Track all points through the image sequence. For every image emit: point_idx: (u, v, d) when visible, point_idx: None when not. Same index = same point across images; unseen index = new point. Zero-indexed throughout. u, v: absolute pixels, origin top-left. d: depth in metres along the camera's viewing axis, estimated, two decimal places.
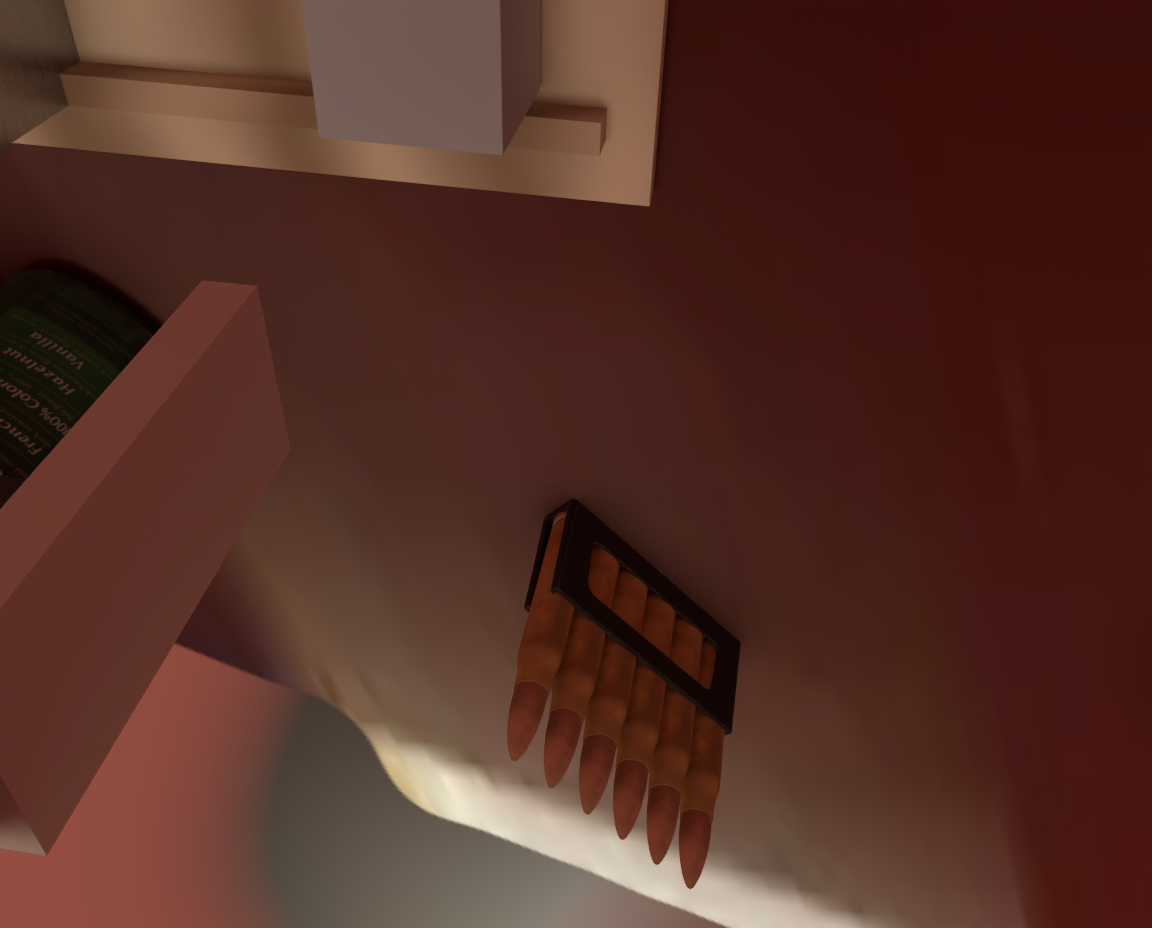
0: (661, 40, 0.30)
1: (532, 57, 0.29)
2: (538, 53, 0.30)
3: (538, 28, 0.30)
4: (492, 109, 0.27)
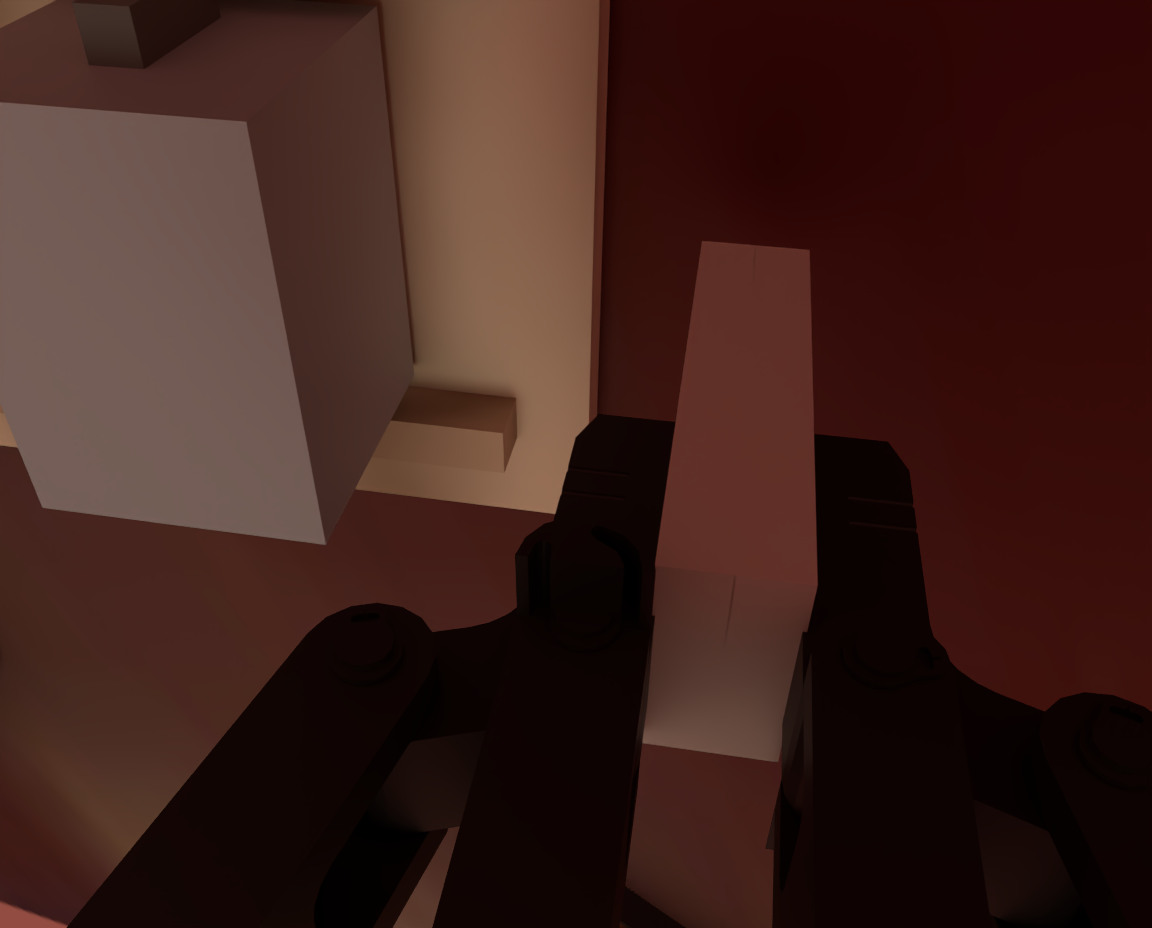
0: (590, 314, 0.20)
1: (391, 350, 0.19)
2: (405, 333, 0.20)
3: (402, 301, 0.20)
4: (300, 487, 0.16)
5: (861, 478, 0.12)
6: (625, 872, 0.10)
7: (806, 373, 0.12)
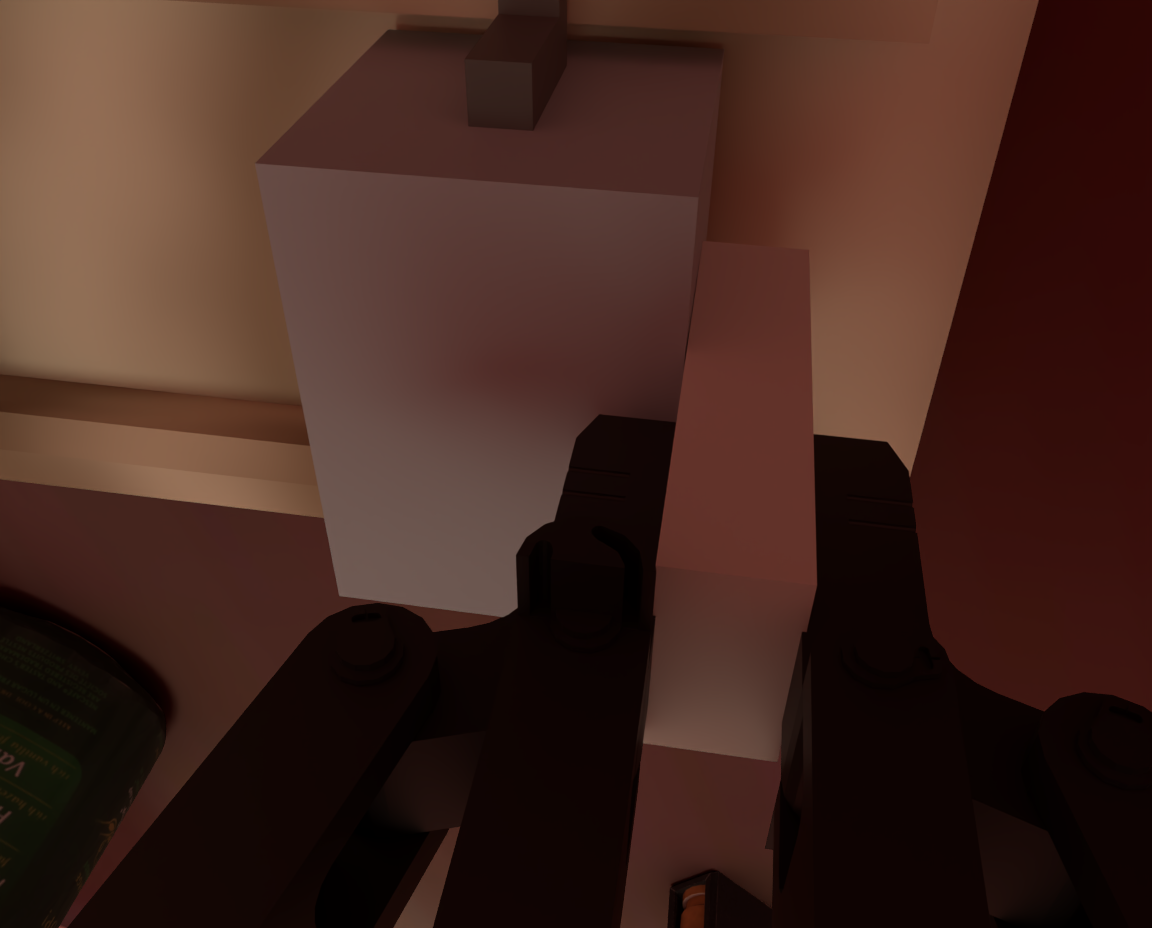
0: (934, 376, 0.18)
1: None
2: None
3: None
4: None
5: (860, 478, 0.12)
6: (626, 872, 0.10)
7: (806, 373, 0.12)
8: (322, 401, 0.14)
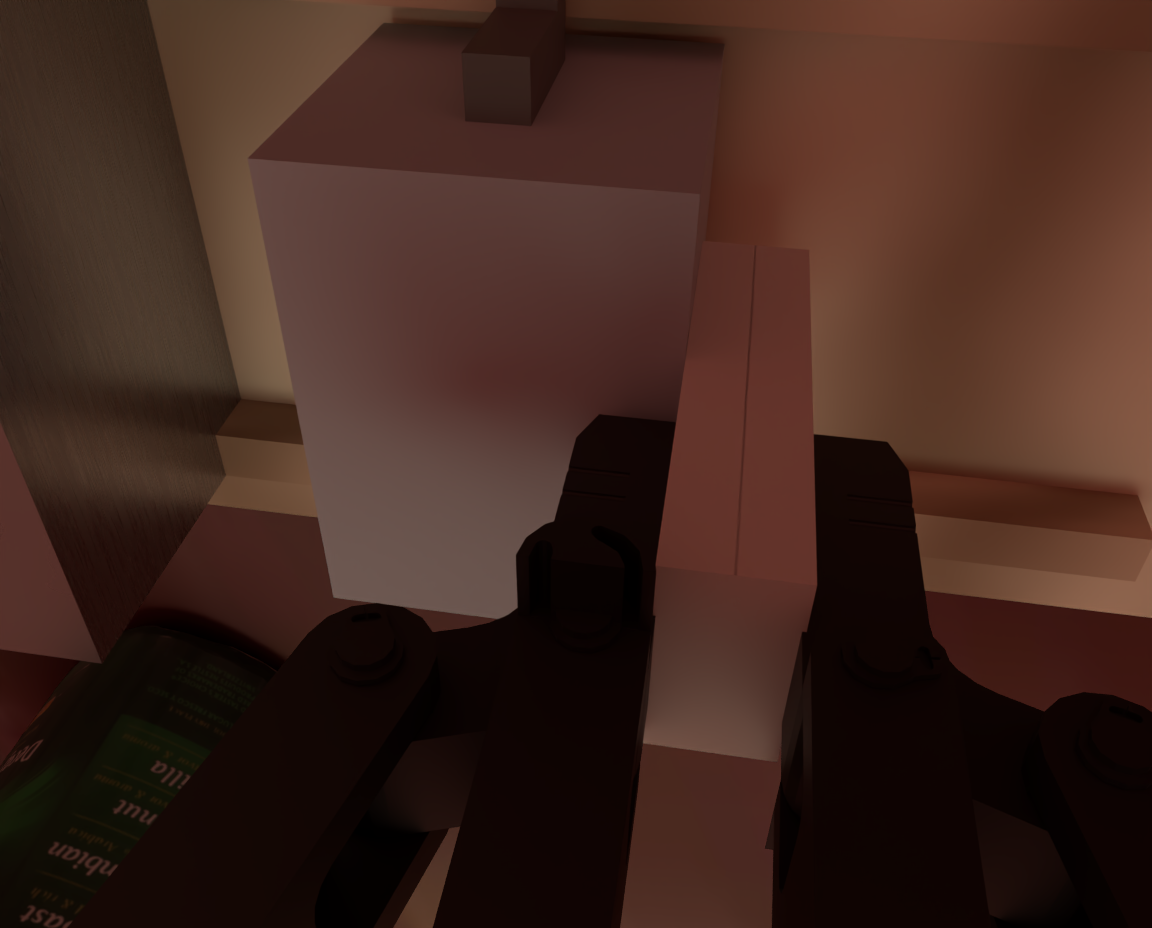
0: None
1: None
2: None
3: None
4: None
5: (861, 477, 0.12)
6: (626, 872, 0.10)
7: (806, 373, 0.12)
8: (316, 400, 0.14)
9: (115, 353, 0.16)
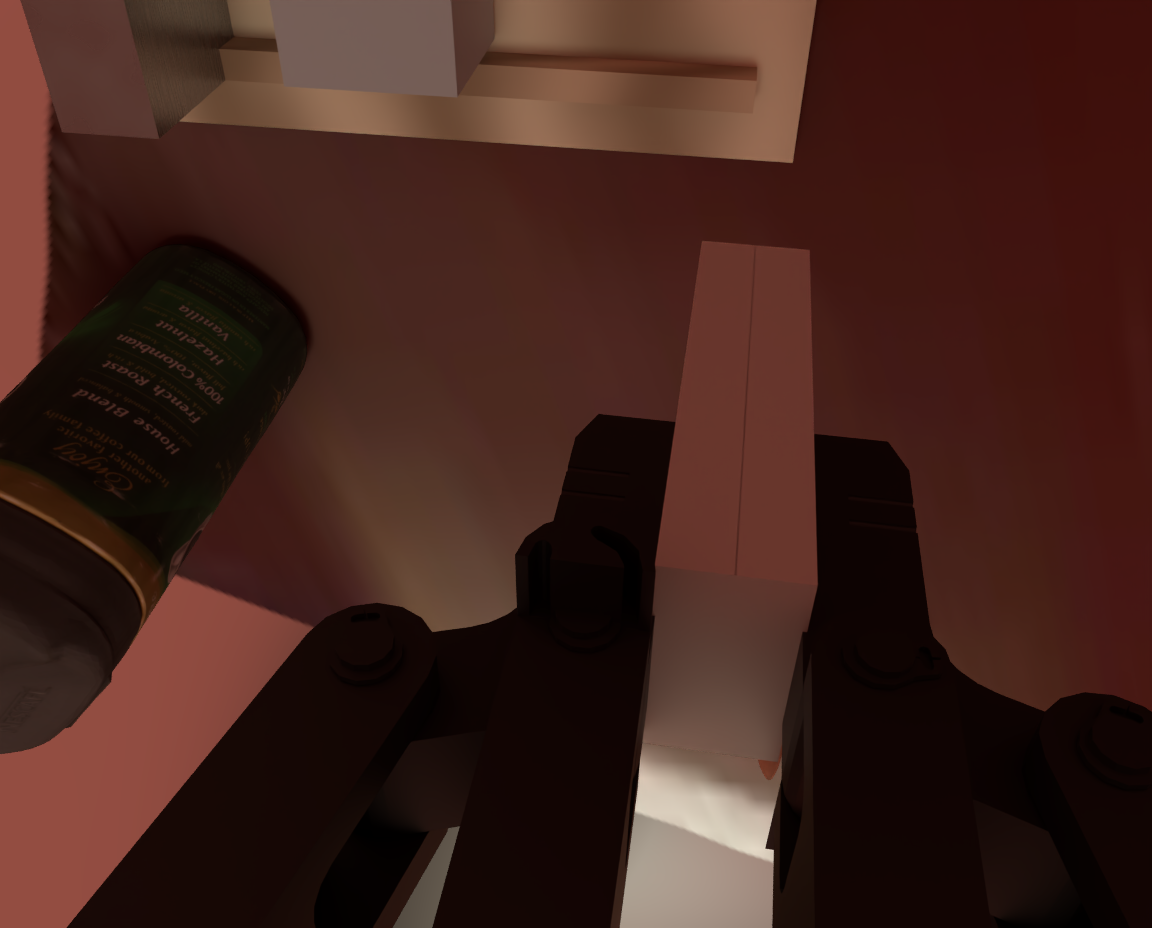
0: None
1: (485, 6, 0.31)
2: (491, 3, 0.32)
3: None
4: (445, 53, 0.28)
5: (861, 478, 0.12)
6: (625, 872, 0.10)
7: (806, 373, 0.12)
8: None
9: None
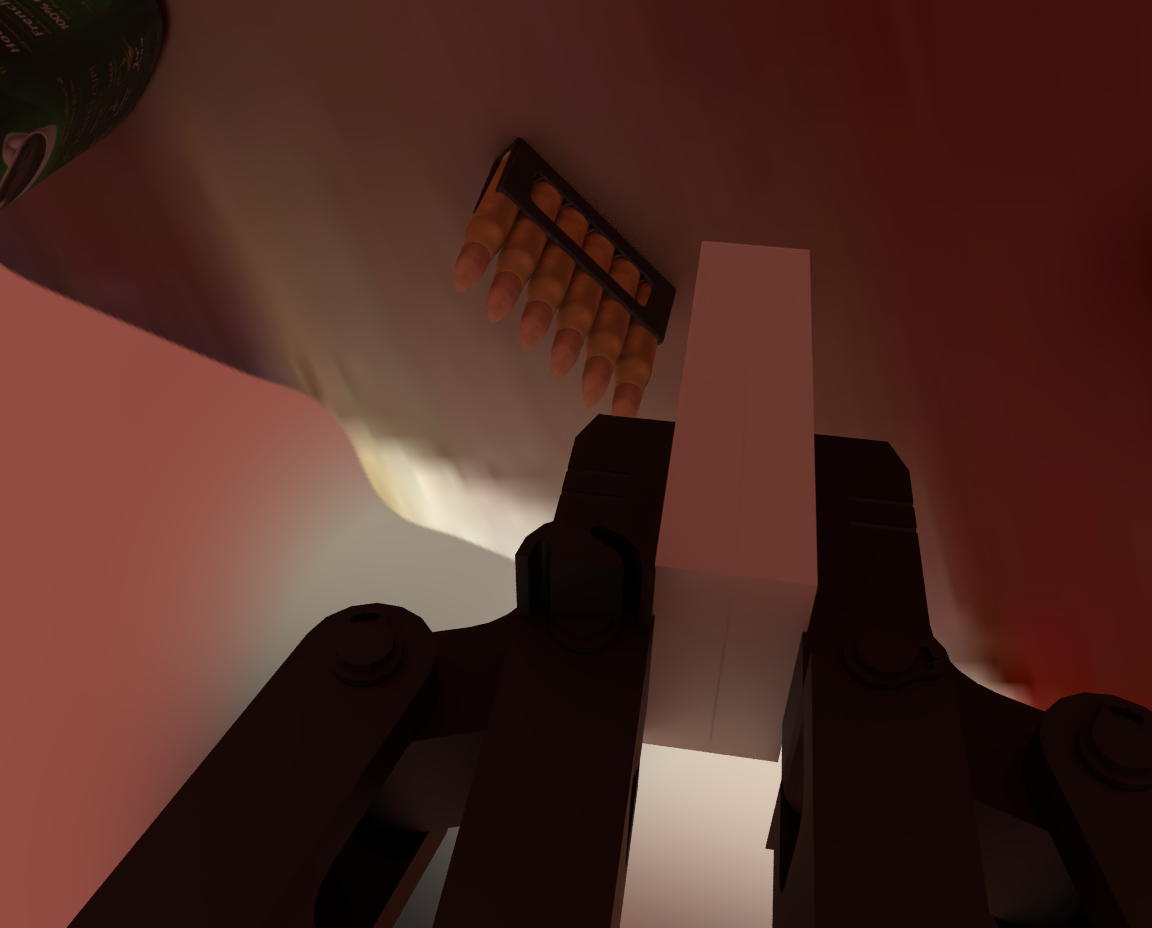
0: None
1: None
2: None
3: None
4: None
5: (861, 478, 0.12)
6: (625, 872, 0.10)
7: (806, 373, 0.12)
8: None
9: None
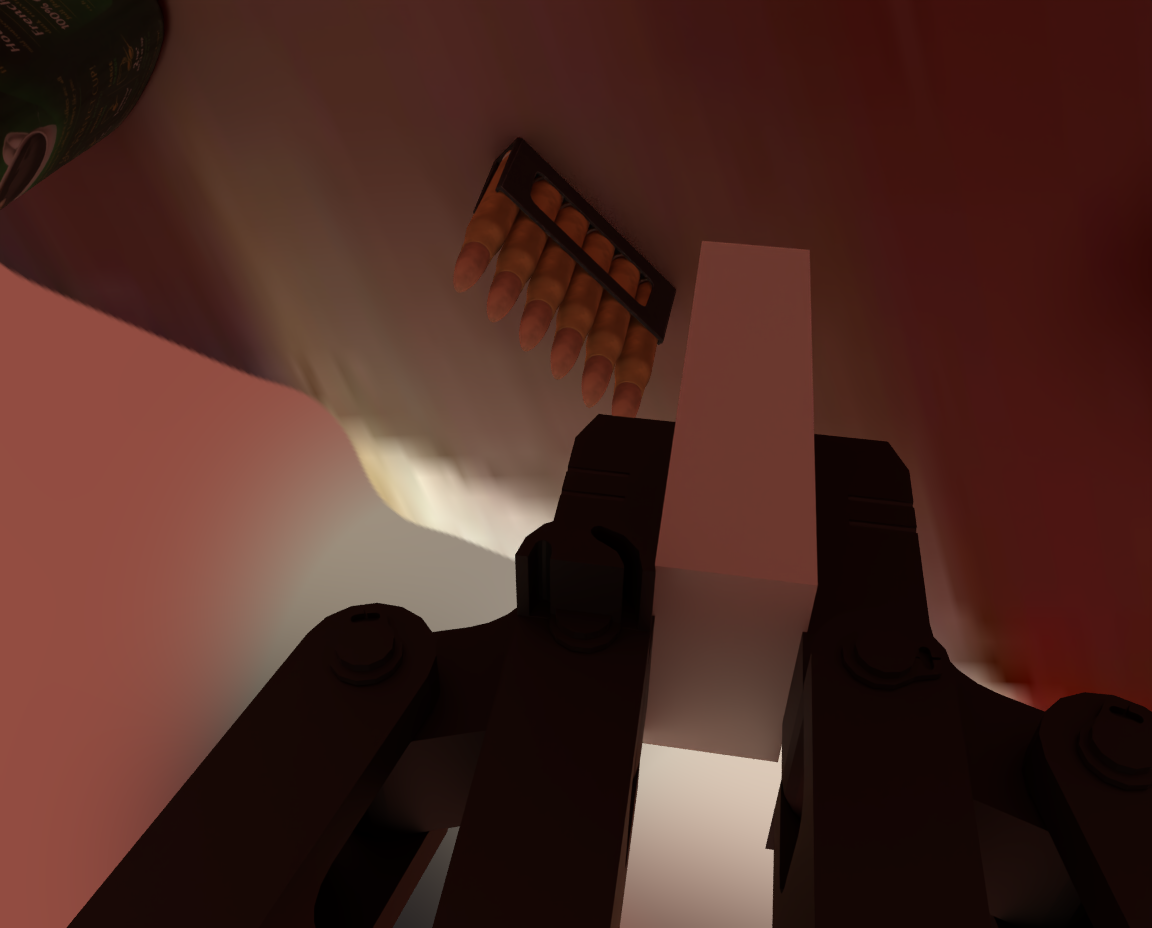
0: None
1: None
2: None
3: None
4: None
5: (861, 478, 0.12)
6: (625, 872, 0.10)
7: (806, 373, 0.12)
8: None
9: None
